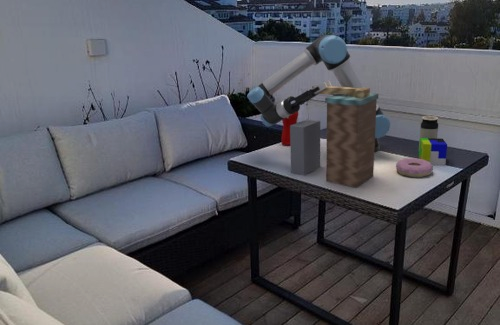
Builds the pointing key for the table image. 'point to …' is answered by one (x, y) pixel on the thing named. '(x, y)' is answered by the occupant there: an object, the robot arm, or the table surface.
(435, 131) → the travel mug
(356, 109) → the laundry hamper
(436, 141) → the puzzle toy
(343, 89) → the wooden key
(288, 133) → the water bottle
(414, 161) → the donut
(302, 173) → the plinth
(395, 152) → the table surface
